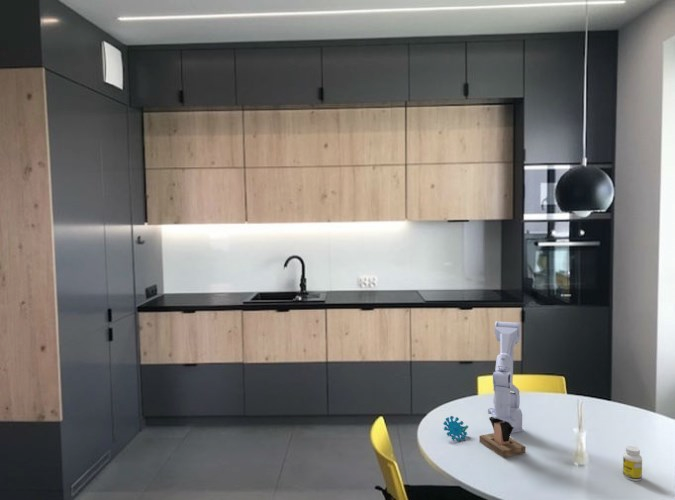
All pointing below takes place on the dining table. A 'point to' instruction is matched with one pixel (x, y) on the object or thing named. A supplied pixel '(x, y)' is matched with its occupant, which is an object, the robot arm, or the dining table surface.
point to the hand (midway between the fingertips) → (501, 438)
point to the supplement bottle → (632, 464)
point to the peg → (499, 434)
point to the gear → (455, 428)
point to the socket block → (502, 446)
